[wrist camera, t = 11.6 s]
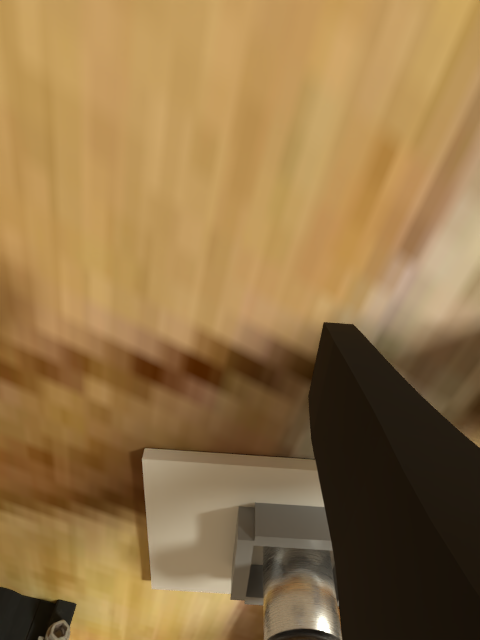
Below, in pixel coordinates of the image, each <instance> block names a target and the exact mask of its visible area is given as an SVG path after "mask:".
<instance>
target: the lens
mask: <svg viewBox="0 0 480 640" xmlns="http://www.w3.org/2000/svg"><path fill="white" fill-rule="evenodd" d="M263 609H264V640H342V634H341V627H340V620H339V613H338V606H337V599H336V592H335V585H334V578H333V571H332V564H331V557H330V550H315V549H300V548H284V547H269V546H263Z"/></svg>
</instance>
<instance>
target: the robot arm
mask: <svg viewBox="0 0 480 640" xmlns="http://www.w3.org/2000/svg"><path fill="white" fill-rule="evenodd" d="M308 397H309V414H310V428H311V440H312V445H313V451H314V456H315V461H316V466H317V471H318V477H319V482H320V487H321V492H322V497H323V502H324V507H325V512H326V517H327V522H328V527H329V532H330V537H331V543H332V549H333V555H334V562H335V570H336V579H337V589H338V599H339V609H340V619H341V631H342V640H480V448H479V447H478V446H476V445H475V444H474V443H473V442H472V441H470V440H469V439H468V438H467V437H466V436H465V435H463V434H462V433H461V432H460V431H459V430H458V429H456V428H455V427H454V426H453V425H452V424H451V423H450V422H449V421H448V420H447V419H446V418H444V417H443V416H442V415H441V414H440V413H439V412H438V411H437V410H436V409H435V408H433V407H432V406H431V405H430V404H429V403H428V402H427V401H426V400H425V399H424V398H423V397H422V396H421V395H420V394H419V393H418V392H417V391H416V390H415V389H414V388H413V387H412V386H411V385H410V384H409V383H408V382H407V381H406V380H405V379H404V378H403V377H402V376H401V375H400V374H399V373H398V372H397V371H396V370H395V369H394V368H393V366H392V365H391V364H390V363H389V362H388V361H387V360H386V359H385V358H384V357H383V356H382V355H381V354H380V353H379V351H378V350H377V349H376V348H375V347H374V346H373V345H372V344H371V343H370V342H369V341H368V339H367V338H366V337H365V336H364V335H363V334H362V333H361V332H360V331H359V330H358V329H357V328H356V327H355V326H354V325H353V324H340V323H326V322H324V324H323V329H322V333H321V338H320V343H319V348H318V353H317V358H316V362H315V367H314V372H313V377H312V382H311V386H310V391H309V396H308Z"/></svg>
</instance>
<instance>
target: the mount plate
mask: <svg viewBox="0 0 480 640" xmlns="http://www.w3.org/2000/svg"><path fill="white" fill-rule="evenodd" d="M142 466H143V479H144V492H145V506H146V519H147V532H148V545H149V558H150V571H151V584H152V589H160V590H176V591H192V592H208V593H224V594H231V600H245V604H251V605H263V546H269V547H284V548H300V549H315V550H330V557H331V564H332V571H333V578H334V585H335V592H336V599H337V606H339V599H338V589H337V579H336V570H335V562H334V555H333V549H332V543H331V537H330V532H329V527H328V522H327V517H326V512H325V507H324V502H323V497H322V492H321V487H320V482H319V477H318V471H317V466H316V461H315V460H313V459H298V458H283V457H269V456H254V455H239V454H225V453H210V452H195V451H180V450H166V449H151V448H145V449H144V453H143V457H142Z"/></svg>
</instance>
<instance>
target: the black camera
mask: <svg viewBox="0 0 480 640" xmlns="http://www.w3.org/2000/svg"><path fill="white" fill-rule="evenodd" d="M75 608H76V604H75V603H71V602H67V601H62V600H57V602H56V604H54V603H51V602H48V601H44V600H39V599H35V598H31V597H27V596H22V595H20V594H18V593H17V592H15V591H12V590H9V589H6V588H1V587H0V640H69V637H70V624H71V621H72V617H73V614H74V611H75Z"/></svg>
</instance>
